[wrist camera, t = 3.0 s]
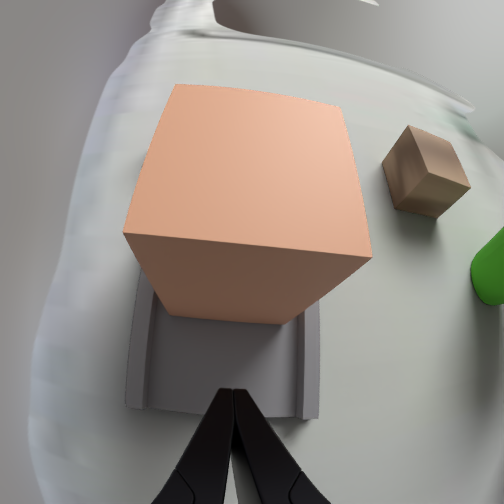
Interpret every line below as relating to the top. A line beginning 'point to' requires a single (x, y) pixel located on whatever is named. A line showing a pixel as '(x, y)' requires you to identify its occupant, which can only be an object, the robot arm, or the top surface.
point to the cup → (490, 271)
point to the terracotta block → (247, 205)
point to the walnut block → (424, 173)
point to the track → (221, 360)
